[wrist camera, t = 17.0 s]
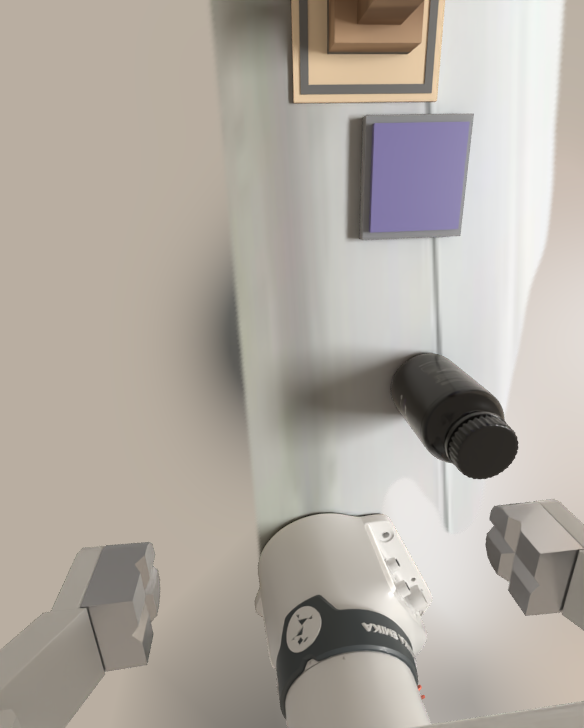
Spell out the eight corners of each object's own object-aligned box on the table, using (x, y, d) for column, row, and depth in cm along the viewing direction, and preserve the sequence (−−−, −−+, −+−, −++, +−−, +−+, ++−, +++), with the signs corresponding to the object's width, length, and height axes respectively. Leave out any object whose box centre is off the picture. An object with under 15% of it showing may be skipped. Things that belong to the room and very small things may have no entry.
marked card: (435, 101, 33) (437, 100, 33) (293, 103, 32) (294, 102, 32) (450, -86, 29) (453, -89, 29) (288, -91, 28) (289, -95, 28)
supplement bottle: (375, 397, 42) (423, 470, 31) (415, 339, 41) (481, 394, 29) (429, 425, 44) (492, 503, 33) (470, 370, 42) (551, 433, 31)
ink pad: (454, 234, 37) (463, 236, 36) (359, 238, 37) (364, 240, 35) (467, 115, 34) (476, 112, 33) (362, 117, 33) (368, 113, 32)
